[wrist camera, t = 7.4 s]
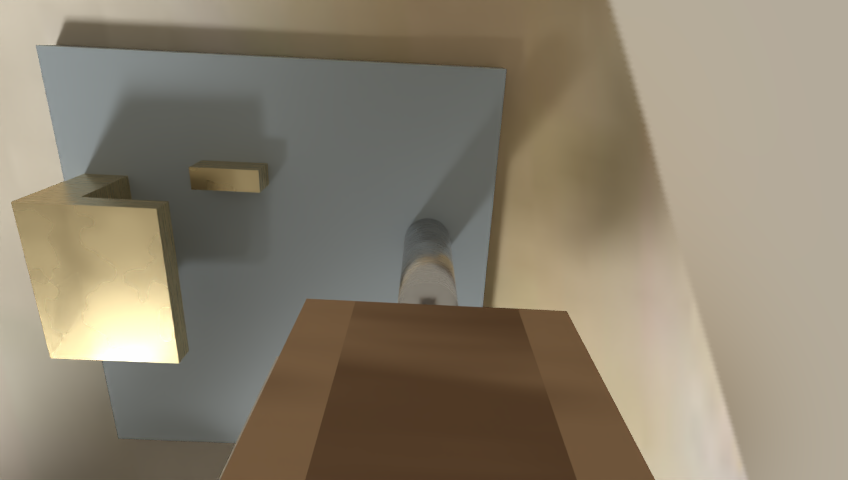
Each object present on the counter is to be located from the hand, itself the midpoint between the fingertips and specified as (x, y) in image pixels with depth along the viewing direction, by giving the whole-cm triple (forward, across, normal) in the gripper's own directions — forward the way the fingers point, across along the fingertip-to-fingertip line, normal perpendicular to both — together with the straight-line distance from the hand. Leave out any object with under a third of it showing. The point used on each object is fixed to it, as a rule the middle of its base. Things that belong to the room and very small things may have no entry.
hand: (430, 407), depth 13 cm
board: (+13, -7, -3) cm, 15 cm away
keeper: (+12, -12, -1) cm, 17 cm away
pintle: (+12, 0, 0) cm, 12 cm away
